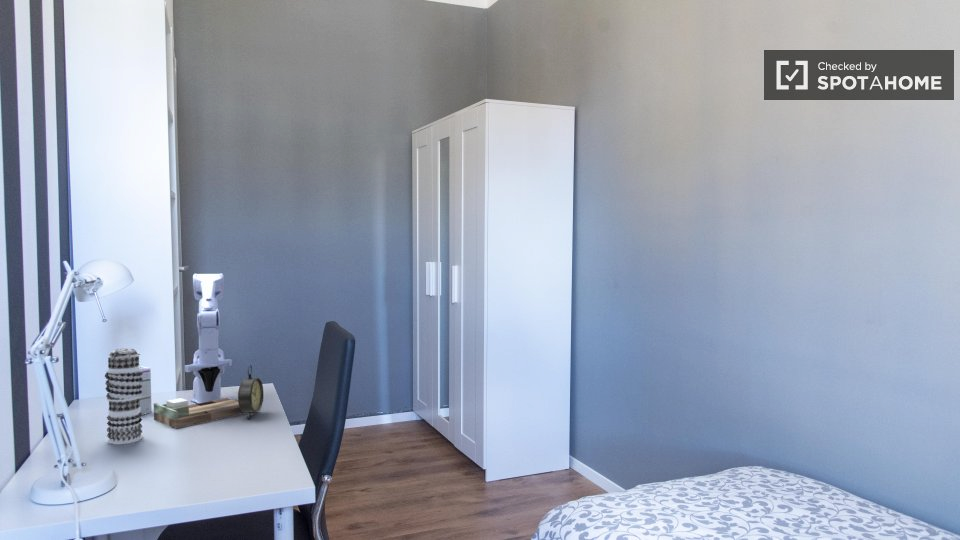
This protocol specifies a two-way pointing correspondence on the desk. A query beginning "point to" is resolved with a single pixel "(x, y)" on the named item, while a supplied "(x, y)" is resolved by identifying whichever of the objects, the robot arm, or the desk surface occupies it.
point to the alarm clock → (250, 395)
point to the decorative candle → (123, 396)
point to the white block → (177, 403)
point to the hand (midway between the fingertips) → (209, 391)
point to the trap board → (196, 412)
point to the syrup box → (145, 390)
